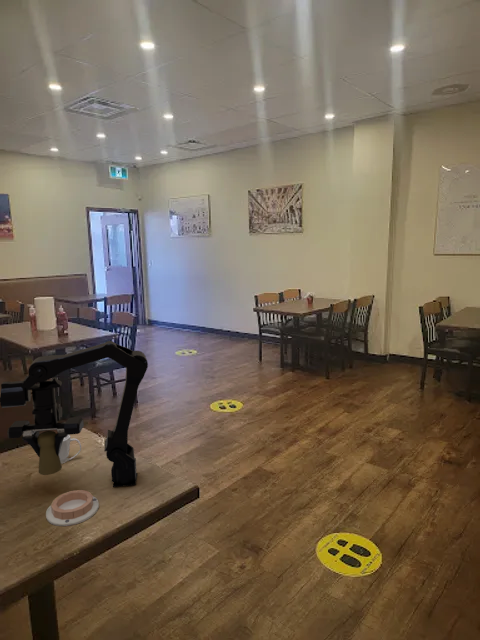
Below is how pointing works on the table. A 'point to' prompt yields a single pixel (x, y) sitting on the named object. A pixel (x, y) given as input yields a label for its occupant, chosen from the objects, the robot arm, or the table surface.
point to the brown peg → (48, 454)
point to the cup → (67, 449)
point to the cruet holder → (72, 508)
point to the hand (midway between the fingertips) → (49, 456)
